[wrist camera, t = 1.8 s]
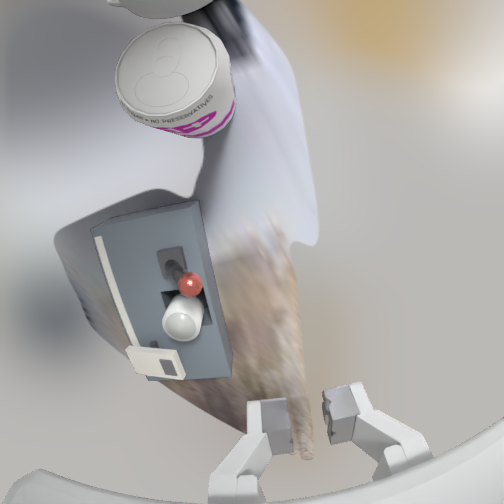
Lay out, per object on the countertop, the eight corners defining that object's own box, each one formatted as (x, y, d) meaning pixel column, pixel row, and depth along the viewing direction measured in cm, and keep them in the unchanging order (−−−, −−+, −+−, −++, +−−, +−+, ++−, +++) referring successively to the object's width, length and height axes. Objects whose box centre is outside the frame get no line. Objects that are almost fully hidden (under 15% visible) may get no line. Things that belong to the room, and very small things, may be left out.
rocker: (129, 345, 32) (124, 350, 31) (176, 349, 30) (172, 356, 29) (140, 368, 33) (136, 374, 32) (186, 374, 32) (182, 381, 30)
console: (109, 218, 32) (86, 231, 27) (198, 199, 32) (188, 209, 26) (156, 358, 40) (146, 385, 34) (232, 352, 39) (231, 381, 34)
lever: (157, 258, 27) (179, 281, 21) (176, 252, 28) (203, 272, 22) (163, 276, 28) (185, 304, 21) (181, 270, 28) (208, 295, 22)
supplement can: (232, 141, 30) (220, 127, 16) (161, 137, 29) (98, 126, 15) (240, 74, 27) (236, 15, 13) (170, 72, 27) (119, 21, 13)
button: (165, 295, 30) (156, 312, 27) (199, 290, 30) (194, 308, 27) (175, 325, 32) (168, 343, 28) (207, 321, 32) (203, 340, 28)
